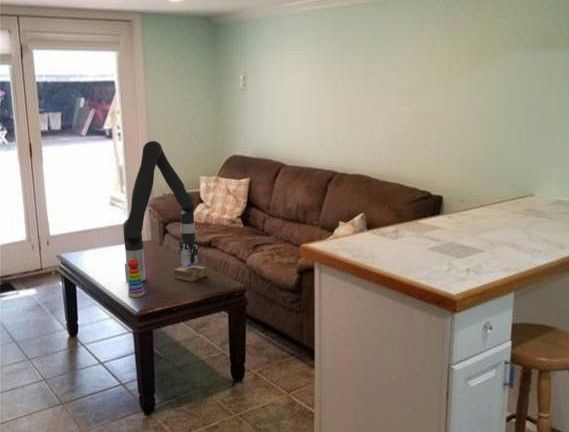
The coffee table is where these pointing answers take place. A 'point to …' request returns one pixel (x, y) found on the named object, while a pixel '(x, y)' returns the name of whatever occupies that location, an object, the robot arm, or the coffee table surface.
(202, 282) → the coffee table surface
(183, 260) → the medicine box
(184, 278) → the tan square block
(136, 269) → the stacking toy
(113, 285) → the coffee table surface
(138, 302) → the coffee table surface
